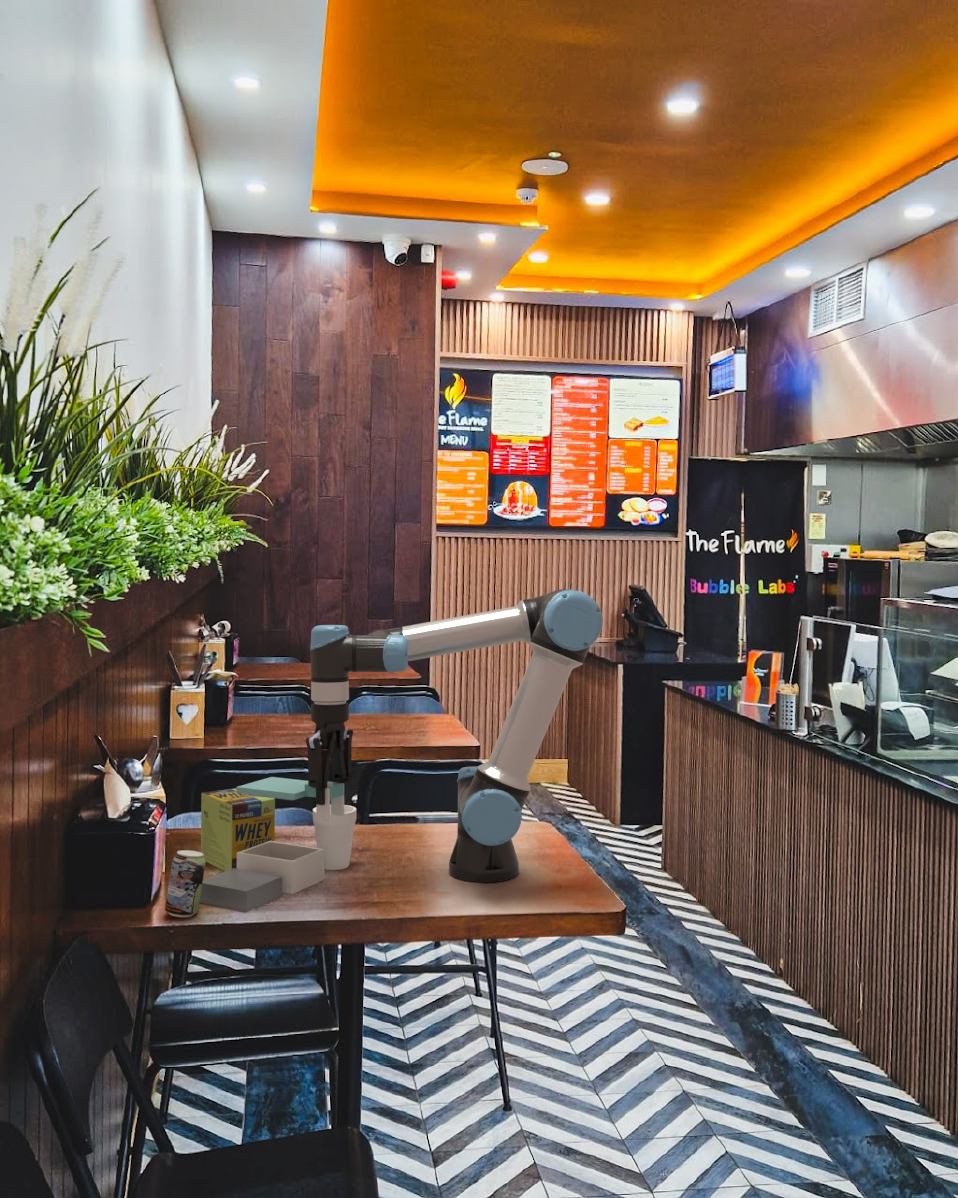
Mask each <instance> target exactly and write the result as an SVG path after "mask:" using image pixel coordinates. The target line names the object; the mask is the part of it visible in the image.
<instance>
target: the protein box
mask: <svg viewBox="0 0 958 1198" xmlns="http://www.w3.org/2000/svg"><path fill="white" fill-rule="evenodd" d="M200 797H201V799H200V800H201V801H200V802H201V804H200V805H201V806H200V809H201V811H200V814H201V815H200V852H201V853H203V854H204V855H203V857H204V859H205V861H206V863H208V864H209V865H212V866H214V867H216V868H218V869H219V870H222V871H223V872H225V871H228V870H230V869H233V868H237V853H238V852H240V851H243V850H246V849H249V848H251V847H254V846H257V845H260V844H262V843H265V842H268V841H276V840H275V839H276V838H275V837H276V835H275V834H276V832H275V830H276V829H275V828H276V827H275V824H276V822H275V821H276V816H275V815H276V798H268V797H260V796H252V795H248V794H242V793H236V788H229V789H222V790H213V791H212V790H211V791H203V792H201V796H200Z"/></svg>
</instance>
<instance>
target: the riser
mask: <svg viewBox="0 0 958 1198" xmlns="http://www.w3.org/2000/svg"><path fill="white" fill-rule="evenodd" d="M281 897H283V892H282V876H277V875H272V874H266V873H260V872H254V871H249V870H243V869H237V868H233V869H230V870H228V871H222V872H220V873H217V874H215V875H213V876H209V877H206V878H203V882H202V889H201V895H200V901H199V904H204V905H208V906H213V907H217V908H223V909H229V910H235V911H239V912H244V913H248V912H251V911H252V910H254V909H256V908H259V907H261V906H264V905H266V904H268V903H271V902H273V901H274V900H275V901H276V900H277V899H279V898H281Z"/></svg>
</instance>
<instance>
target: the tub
mask: <svg viewBox="0 0 958 1198" xmlns="http://www.w3.org/2000/svg"><path fill="white" fill-rule="evenodd" d="M324 850H325V849H320V848H317V847H313V846H306V845H299V844H294V843H287V842H281V841H276V840H275V841H268V842H265V843H262V844H260V845H257V846H254V847H251V848H249V849H246V850H243V851H240V852H238V853H237V869H243V870H249V871H254V872H260V873H266V874H272V875H277V876H282V894H290V895H294V894H296V893H298V892H300V891H303V890H305V889H307V888H311V886H313V885H316V884H319V883H320V882H321V883H322V881H324V880H325V869H324Z"/></svg>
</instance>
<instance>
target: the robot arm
mask: <svg viewBox="0 0 958 1198" xmlns="http://www.w3.org/2000/svg"><path fill="white" fill-rule="evenodd" d="M603 620H604V619H603V613H602V610H601V608H600V606H599V605H598V603H597V602H596V600H595V599H594V598H593V597H592V596H590V595H589V594H587V593H585V592H584V591H580V590H577V589H566V588H565V589H564V588H562V589H557V590H556V589H555V590H554V591H551V592H548V593H545V594H543V595H538V596H536V597H532V598H526V599H521V600H519V602H518V604H517V605H515V606H510V607H509V606H508V607H503V608H499V609H492V610H488V611H487V610H486V611H481V612H477V613H472V614H470V613H469V614H465V615H460V616H453V617H448V618H443V619H438V620H433V621H427V622H421V623H416V624H411V625H403V626H400V627H395V628H390V629H378V630H373V631H372V632H371V633H369V634H365V635H364V634H363V635H362V634H360V635H357V634H350V631H349V627H348V626H347V625H341V624H321V625H316V626H314V627H312V629H311V632H310V633H311V634H310V637H311V638H310V649H309V650H310V680H311V683H310V684H311V686H310V691H311V692H310V695H311V696H310V699H311V701H313V703H312V704H311V705H310V719H311V722H312V723H315V730H314V735H312V737H306V738H305V743H306V747H307V777H308V779H307V781H308V785H309V786H311V787H312V788H315V789H316V797H315V804H316V810H317V820H320V821H330V805H331V815H338V816H344V805H345V790H346V789H345V788H346V787H345V785H346V784H349V783H350V781H351V780H350V778H352V755H353V754H352V751H353V750H352V748H353V745H352V742H353V741H352V740H353V736H354V730H353V729H349V728H346V725H345V723H346V722H348V721H349V718H350V714H349V713H350V709H349V708H350V707H349V706H350V705H349V702H347V701H349V700H350V685H349V684H350V683H349V675H350V674H349V673H389V674H393V673H400V672H405V671H407V669H408V667H409V666H408V665H409V662H411V661H412V662H413V661H418V660H423V659H427V658H433V657H434V658H435V657H439V656H445V655H450V654H455V653H457V654H458V653H460V652H466V651H472V650H478V649H484V648H490V647H494V646H501V645H506V644H511V643H517V642H525V643H526V644H528V645H529V646H530V647H531V650H532V655H531V658H530V660H529V662H528V665H527V668H526V669H525V671H524V675H523V676H522V679H521V681H520V684H519V686H518V689H517V692H516V694H515V696H514V698H513V700H512V703H511V706H510V708H509V710H508V713H507V715H506V717H505V720H504V723H503V725H502V727H501V730H500V733H499V735H498V738H497V739H496V742H495V744H494V747H493V749H492V750H491V754H490V756H489V758H488V761H486V762H485V763H482V764H480V765H478V766H476V765H475V766H465V767H461V768H460V769H459V770H458V775H457V777H458V778H457V779H456V782H457V834H456V836H457V837H456V841H455V843H454V846H453V849H452V853H451V855H450V859H449V860H448V861H449V862H448V873H449V875H450V876H452V877H453V878H456V879H458V880H462V881H467V882H473V883H474V882H475V883H494V882H495V883H496V882H504V881H508V880H511V879H514V878H516V877H517V876H518V875H519V873H520V872H519V871H520V869H519V865H520V863H519V860H518V859H519V858H518V856H517V853H516V850H515V846H514V842H513V840H512V839H513V838H514V837H515V835H516V834H517V833H518V832H519V829H520V827H521V824H522V820H523V817H522V815H523V808H524V806H525V804H526V802H527V799H528V796H529V795H530V791H531V786H530V783H529V780H528V777H529V774H530V772H531V769H532V767H533V765H534V762H535V760H536V757H537V755H538V753H539V751H540V748H541V746H542V743H543V740H544V738H545V736H546V734H547V731H548V729H549V726H550V724H551V721H552V719H553V716H554V714H555V712H556V709H557V708H558V705H559V702H560V700H561V698H562V695H563V693H564V690H565V689H566V685H567V683H568V681H569V678H570V675H571V674H572V671H573V670H574V669H576V668H578V667H580V666H582V665H584V661H585V659H586V657H587V655H588V652H589V650H590V647H591V646H592V645H593V644H594V643H595V642H596V641H597V639H599V636H600V635H601V632H602V629H603V622H604V621H603ZM330 766H331V771H332V777H333V778H332V779H333V782H337V783H344V795H342V796H339V797H336V798H333V799H330V788H327V783H328V782H329V775H330V774H329V773H330ZM345 783H346V784H345Z"/></svg>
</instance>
